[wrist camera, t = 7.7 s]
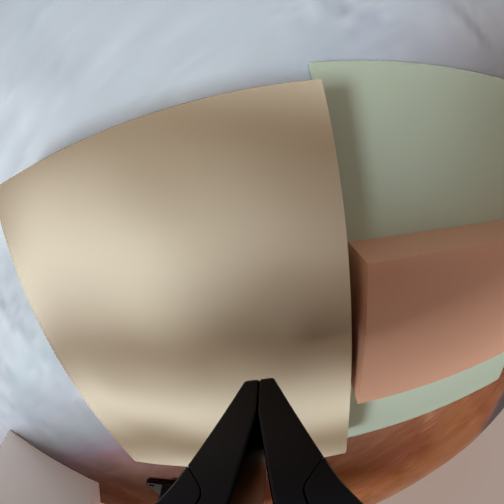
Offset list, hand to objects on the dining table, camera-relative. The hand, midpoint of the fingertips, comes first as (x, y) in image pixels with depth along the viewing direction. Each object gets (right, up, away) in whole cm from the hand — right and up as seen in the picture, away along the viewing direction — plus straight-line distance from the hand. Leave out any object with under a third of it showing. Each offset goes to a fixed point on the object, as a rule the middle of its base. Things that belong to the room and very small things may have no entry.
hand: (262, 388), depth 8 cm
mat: (+9, +3, +3) cm, 10 cm away
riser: (-3, +1, +4) cm, 5 cm away
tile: (+8, +2, +2) cm, 8 cm away
